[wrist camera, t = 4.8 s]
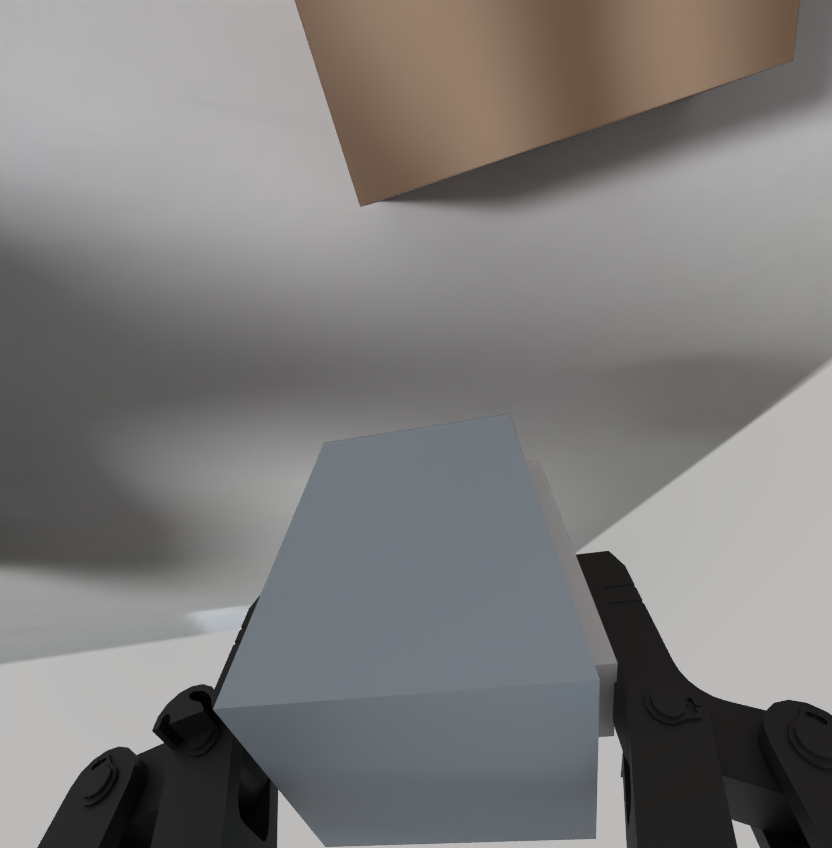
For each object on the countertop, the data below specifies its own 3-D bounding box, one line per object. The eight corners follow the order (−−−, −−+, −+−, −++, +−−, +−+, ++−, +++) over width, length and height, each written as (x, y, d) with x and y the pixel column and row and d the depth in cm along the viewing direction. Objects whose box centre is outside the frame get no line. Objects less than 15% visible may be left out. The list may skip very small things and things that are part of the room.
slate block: (370, 569, 17) (325, 846, 10) (324, 442, 14) (212, 709, 7) (523, 551, 16) (596, 838, 9) (509, 413, 13) (600, 679, 6)
